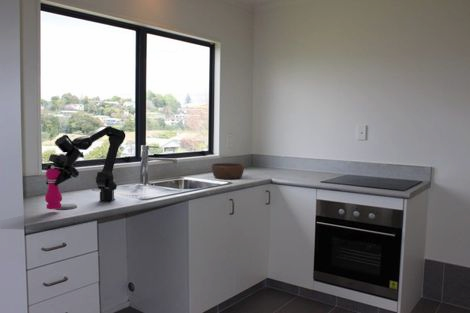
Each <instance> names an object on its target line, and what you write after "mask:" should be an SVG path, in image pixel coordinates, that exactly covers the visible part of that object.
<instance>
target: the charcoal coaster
mask: <svg viewBox="0 0 470 313" xmlns="http://www.w3.org/2000/svg"><path fill="white" fill-rule="evenodd" d="M77 207H78V206H77V204H75V203H61V208H59V209H57V210H58V211H59V210H60V211H66V210H74V209H77Z"/></svg>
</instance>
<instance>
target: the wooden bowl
mask: <svg viewBox="0 0 470 313" xmlns="http://www.w3.org/2000/svg"><path fill="white" fill-rule="evenodd" d="M211 169H212V174H213V177H214V178H215V179H218V180H238V178H239V179H241V178H242V177H243V175H244V169H245V164H242V163H233V162H219V163H212V164H211Z"/></svg>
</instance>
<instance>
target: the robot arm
mask: <svg viewBox="0 0 470 313" xmlns="http://www.w3.org/2000/svg"><path fill="white" fill-rule="evenodd" d="M105 136H107V137H108V143H109V145H108V149H107V154H106V155H105V156H106V158H105V161H104V163H103V164H104V165H103V168H102V170H101V171H97V172H96V177H95V184H96V186H97V189H98V190H100V192H99V202H109V203H110V202H114V201H115V200H116V198H115V190H117V187H118V185H117V184H116V182H114V178H115V177H114V174H113V170H114V165H115V163H116V159H117V155H118V152H119V147H120V146H121V145H122V144H123V143H124V141H125V139H126V133H125V131H124V130H122V129H118V128H115V127H113V126H111V125H102V126H101V127H100V128H97V129H96V130H94V131H92V132H90V133H89V134H87V135H83V136H78V137H76V138H74V139H73V140H72V139H71V138H70V137H69V136H68V134H63V135H62V136H60V137H58V138H57V139H56V140H55V141H54V145H56V146H57V148H58V149H59V150H60V151H61V152H62V153H60V154H55V153H54V154H52V153H51V154H50V155H49V158H48V161H49V162H51V163H45V164H44V166H43V169H44V170H45V171H47V170H49V169H51V166H52V165H54V166H55V168H54V169H58V170H59V172H60V175H59V176H58V178H57V180H56V181H55V183H54V185H55V186H56V185H58V186H59V185H60V184H62V183H64V182H66V181H68V180H70V179H72V178H78V176H79V175H80V172H79V171H78V169H77V168H76V167H75V166H76V165H77V164H76V162H77V161H78V159H79V158H81V159H82V158H85V156H84V152H83V151H87V150H89V148H91V147H92V145H93V143H94V142H96V141H98V140H99V139H102V138H103V137H105ZM80 150H81V151H80ZM63 153H65V154H63ZM47 179H48V178H47V177H46V182H45V185H46V186H49V184H48V182H47V181H48V180H47Z"/></svg>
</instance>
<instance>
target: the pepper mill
mask: <svg viewBox="0 0 470 313" xmlns="http://www.w3.org/2000/svg"><path fill="white" fill-rule="evenodd" d="M55 167H56V165H55V164H53V165H52V166H51V169H49V170H46V173H45V177H46V181H47V180H48V181H47V182H48V185H47V186H48V189H47V192H46V194H45V198H44V200H45V202H46V209H47V210H58V209H59V208H61V204H62V203H61V202H62V201H63V196H62V193H61V191H60V188H59V184H58V185H56V186H55V185H54V183H55V181H56V180H57V178H58V176H59V175H60V172H59V170H58V169H54V168H55ZM47 178H48V179H47Z"/></svg>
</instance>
